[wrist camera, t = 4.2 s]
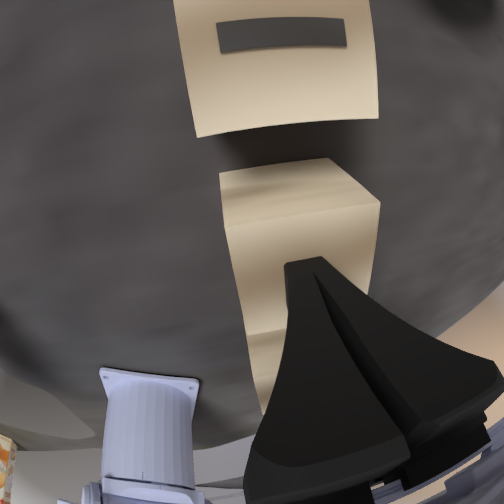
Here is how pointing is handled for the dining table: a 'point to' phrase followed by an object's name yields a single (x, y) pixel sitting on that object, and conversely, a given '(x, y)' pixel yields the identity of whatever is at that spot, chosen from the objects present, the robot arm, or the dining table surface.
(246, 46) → the numbered block one
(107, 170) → the dining table surface
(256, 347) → the numbered block seven
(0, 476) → the coffeecake box
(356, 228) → the plain block
